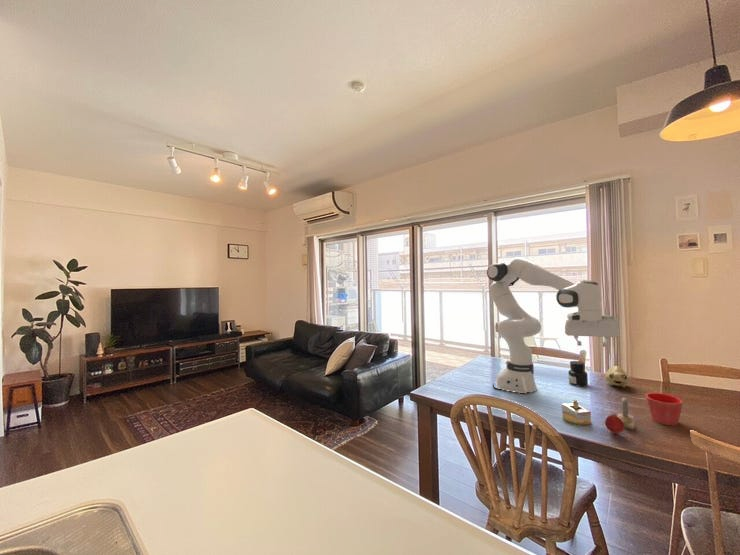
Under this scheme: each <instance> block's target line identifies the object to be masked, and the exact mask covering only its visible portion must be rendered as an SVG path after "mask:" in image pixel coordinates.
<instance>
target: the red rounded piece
mask: <svg viewBox="0 0 740 555" xmlns="http://www.w3.org/2000/svg"><path fill="white" fill-rule="evenodd" d="M604 424H605V427H606V429H607V430H609V432H611V433H613V434H614V435H618V434H620V433H622V432H624V430H625V428H624V423H623V422H622V420H621V419H620V418H618V415H617V414H616V413H612V414H611V415H609V416H607V417H606V418H605V421H604Z"/></svg>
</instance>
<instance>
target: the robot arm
mask: <svg viewBox="0 0 740 555" xmlns="http://www.w3.org/2000/svg"><path fill="white" fill-rule="evenodd" d="M486 276H487V277H488V279H489V280H490V281H493V282H492V283H491V284H490V286H489V292H490V295H491V298H492V301H493V303H494V305H495V306H496V309H497V310H498V312H499V314H500V315H502V316H503V317H505V318H507V319H504V320H502V321H500V322H498V325H497V333H498V335H499V336H500V337H501V338H502V339H503V340H505V342H506V344H507V346H508V349H509V351H508V352H509V360H508V359H507V360H506V361H505V364H506V368H505V369H503V370H501V371H500V372H498V374H497V376H496V380H497V382H495V383H496V387H498V388H500V389H504V390H509V391H515V392H519V393H518V394H520V393H525V394H528V393H527V392H529V393H534V392H536V391H538V387H537V385H536V380H535V377H534V376H535V373H534V372H535V367H534V363H533V353H532V352H533V351H532V348H531V347H530V346H529V345H527V344H526V343H525V338H529V337H533V336H536V335H537V334H539V333H541V330H542V325H541V322H540V321H539V319H538V318H537V317H534V316H532V315H530V314H529V313H528V312H526V311H525V310H524V309H523V308H522V307H521V306H520V304H519V303H518V301H517V300H516V298H515V296H514V294H513V293H512V291H511V289H510V287H513V286H514V285H515V284H516V283H517V282H518V281H519V280H521V281H523V282H524V283H527V284H528V285H530V286H531V285H532V286H541V287H542V286H543V287H551V288H553V289H555V290H557V293H556V296H555V297H556V298H555V299H556V302H557V304H558V305H560V307H562V308H566V309H567V308H569V309H571V308H577V311H575V312H572V313H568V314H567V316H566V317H567V320H566V321H565V323H564V324H565V325H564V333H565V335H566V336H570V337H573V338H574V339H575V341H576V345H577V346H580V347H581V346H582V345H583V344H582V341H579V340H578V339H579V337H600V338H601V337H602V338H604V341H601V347H606V348H607V347H608V346H607V344H608V342H609V340H610V338H618V337H619V336H620V330H619V326H618V325H619V324H620V319H619V318H618V317H616V316H615V315H603V310H602V306H601V304H602V303H601V302H602V293H601V288H600V285H599V283H598V282H596V281H593V280H579V281H578V282H576V283H573V282H571V281H569V280H567V279H565V278H563V277H561V276H559V275H556V274H555V273H553V272H551V271H550V270H549V271H548V270H547V269H545V268H543V267H542V266H539V265H538V264H536V263H534V262H533V261H531V260H529V259H526V258H523V257H519V256H518V257H513V259H511V260H510V262H509V263H508V264H507V263H505V262H502V263H501V262H498V263H492V264H491V265H489V266H488V268H487V270H486ZM509 391H508V392H509ZM533 391H534V392H533Z"/></svg>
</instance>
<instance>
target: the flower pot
mask: <svg viewBox="0 0 740 555" xmlns="http://www.w3.org/2000/svg"><path fill="white" fill-rule="evenodd" d="M645 398H646V402H647V406H648V409H649V412H650V415H651V418H652V420H653V421H654V422H656V423H659V424H661V425H662V424H663V425H666V426H677V425H678V424H679V422H680V417H681V413H682V408H683V403H684V402H683V400H682V399H680V398H679V397H676V396H674V395H672V394H671V395H670V394H666V393H659V392H649V393H646V394H645Z"/></svg>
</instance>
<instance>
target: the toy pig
mask: <svg viewBox="0 0 740 555" xmlns="http://www.w3.org/2000/svg"><path fill="white" fill-rule="evenodd" d="M605 378H606V380H607V381H608V383H609V385H610V387H611V386H617V387H622V388H626V385H627V384H628V383H629V381H630V377H629V376H628V374H627V373H626V371H625V370H624V369H623V368H622V367H620V366H618V365H613V366H611V367H609V368H608V370H606V373H605Z"/></svg>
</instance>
